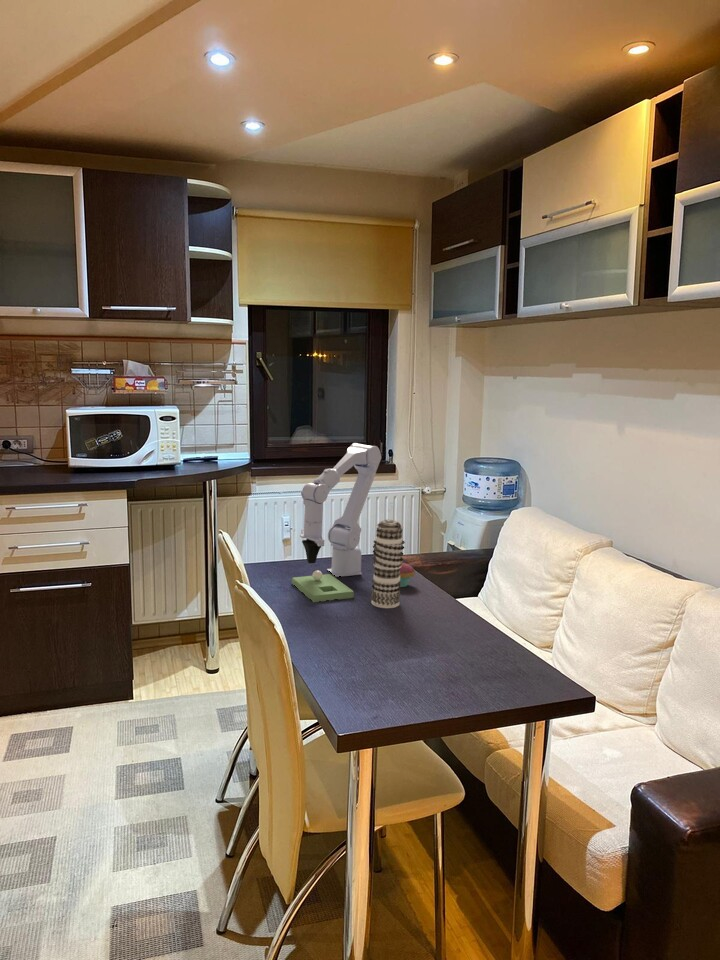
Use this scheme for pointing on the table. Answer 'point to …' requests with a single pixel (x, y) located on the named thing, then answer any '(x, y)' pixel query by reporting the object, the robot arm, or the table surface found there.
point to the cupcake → (405, 574)
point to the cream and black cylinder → (387, 564)
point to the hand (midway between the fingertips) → (311, 562)
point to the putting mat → (322, 588)
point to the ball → (317, 575)
